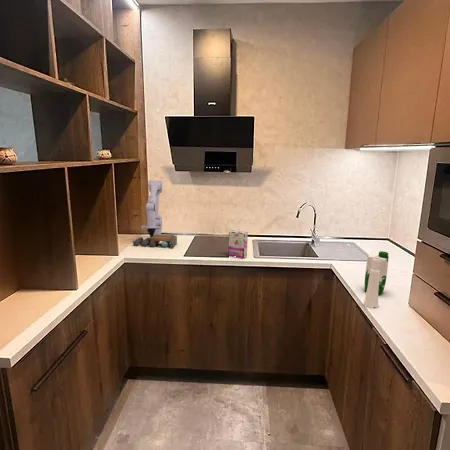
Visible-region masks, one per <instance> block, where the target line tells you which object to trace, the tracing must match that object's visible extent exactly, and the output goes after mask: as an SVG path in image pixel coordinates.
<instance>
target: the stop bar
mask: <svg viewBox="0 0 450 450" xmlns="http://www.w3.org/2000/svg"><path fill="white" fill-rule="evenodd" d="M177 245H178V235H174V237H172V238H171V239H170V246H169V247H170V249H174V248H175V247H176V246H177Z"/></svg>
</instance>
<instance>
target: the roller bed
mask: <svg viewBox="0 0 450 450" xmlns="http://www.w3.org/2000/svg"><path fill="white" fill-rule="evenodd" d="M160 242H161V241H151V238H150V237H146V238H145V239H144V237H142V236H139V237H138V238H136V239H134V240H133V242H132V245H133V246H134V247H137V246H139V245H140V246H141V247H147V246H148V245H149V247H150V248H154V247H155V246H157V248H160V247H161V246H162V245H161V243H160ZM159 243H160V244H159ZM169 247H170V243H169V244H168V245H167V246H166V247H165V249H167V248H169Z"/></svg>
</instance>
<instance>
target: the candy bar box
mask: <svg viewBox="0 0 450 450" xmlns="http://www.w3.org/2000/svg"><path fill="white" fill-rule="evenodd" d="M248 236H249V233H248V232H247V231H242V230H233V229H232V230H229V231H228V257H231V256H236V257H235V258H237V257H242V258H241V259H243V258H244V259H246V258H247V257H248V239H249V238H248ZM246 256H247V257H246ZM245 257H246V258H245Z"/></svg>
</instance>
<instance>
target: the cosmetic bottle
mask: <svg viewBox="0 0 450 450" xmlns="http://www.w3.org/2000/svg"><path fill="white" fill-rule="evenodd" d="M379 258H380V257H378V256H374V258H373V262H372V269H371V270H370V275H369V281H368V287H367V292H365V297H364V301H363V305H364V306H366V307H367V308H370V307H372V309H374V308H373V307H377V308H378V307H380V306H379V295H378V289H379V275H380V270H379V264H380V259H379Z"/></svg>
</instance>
